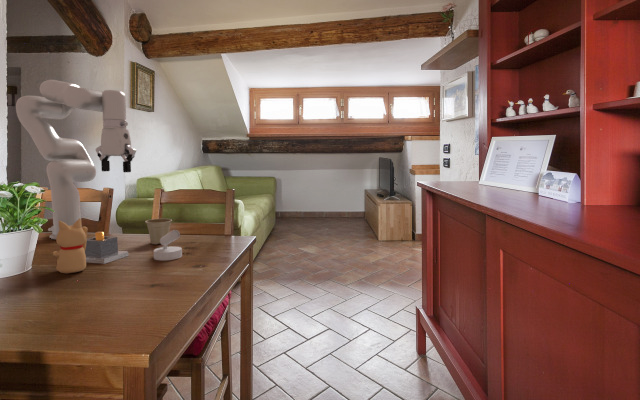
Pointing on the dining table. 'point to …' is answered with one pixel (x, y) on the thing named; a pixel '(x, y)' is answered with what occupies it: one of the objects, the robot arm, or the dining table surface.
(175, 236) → the wall hook
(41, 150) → the robot arm
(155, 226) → the flower pot
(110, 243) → the grey square box
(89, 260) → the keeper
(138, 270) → the dining table surface
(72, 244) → the figurine
